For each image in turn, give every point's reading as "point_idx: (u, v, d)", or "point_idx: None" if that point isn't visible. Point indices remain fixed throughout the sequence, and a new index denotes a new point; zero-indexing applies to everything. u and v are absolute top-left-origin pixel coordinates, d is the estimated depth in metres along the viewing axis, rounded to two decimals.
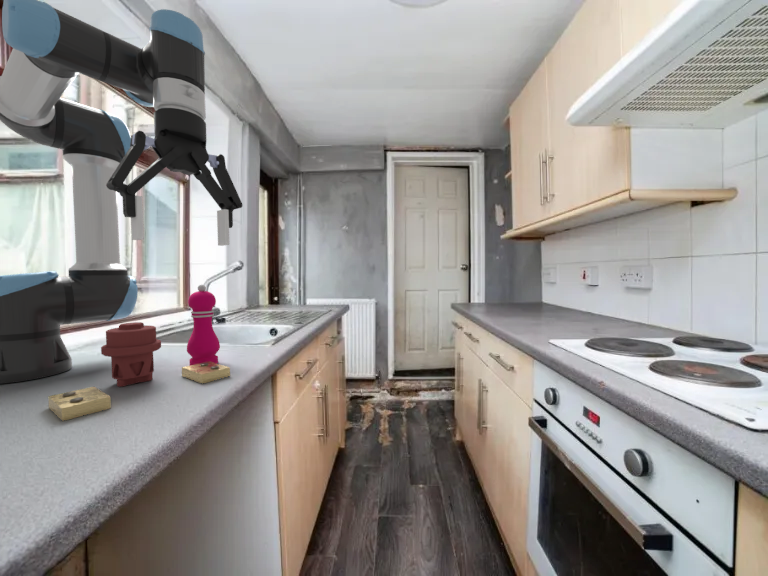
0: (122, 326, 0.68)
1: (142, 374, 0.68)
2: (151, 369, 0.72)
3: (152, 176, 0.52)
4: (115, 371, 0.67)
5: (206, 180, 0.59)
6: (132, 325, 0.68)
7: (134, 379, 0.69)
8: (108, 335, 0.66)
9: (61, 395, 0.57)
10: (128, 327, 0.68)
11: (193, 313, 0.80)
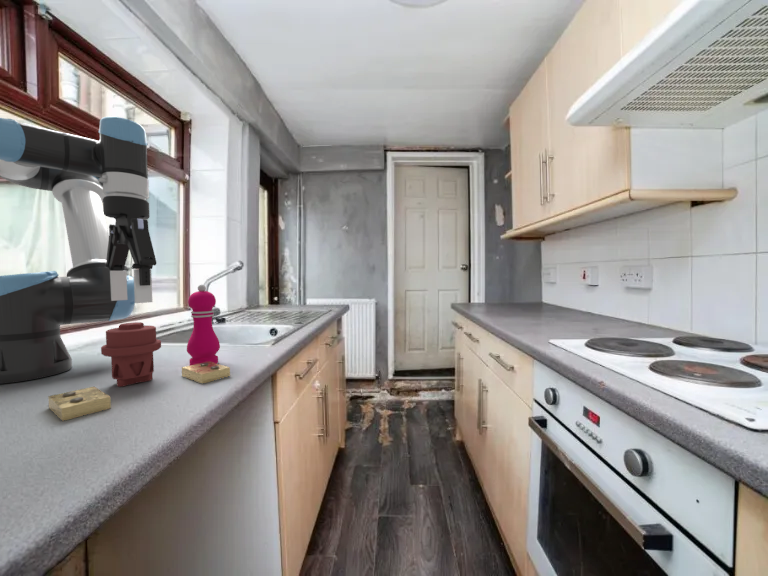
0: (122, 326, 0.68)
1: (142, 374, 0.68)
2: (151, 369, 0.72)
3: (113, 254, 0.70)
4: (115, 371, 0.67)
5: None
6: (132, 325, 0.68)
7: (134, 379, 0.69)
8: (108, 335, 0.66)
9: (61, 395, 0.57)
10: (128, 327, 0.68)
11: (193, 313, 0.80)
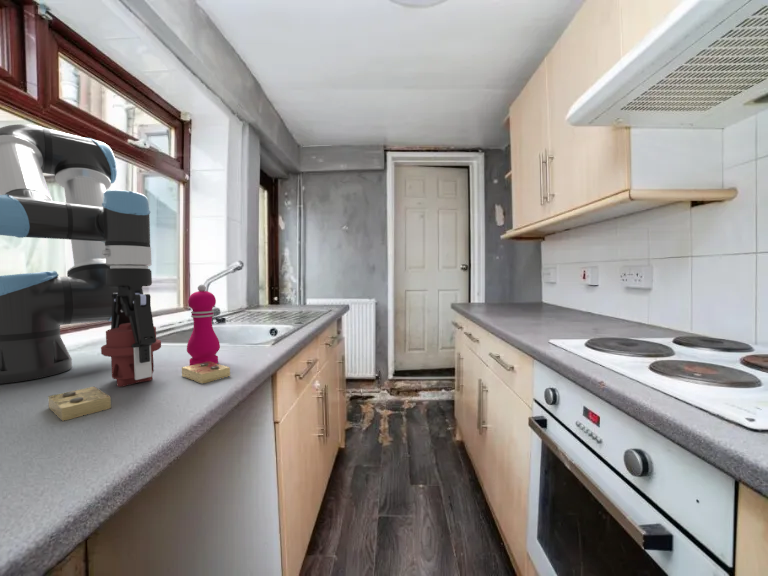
0: (122, 326, 0.68)
1: None
2: None
3: (117, 323, 0.71)
4: (115, 371, 0.67)
5: None
6: None
7: (134, 379, 0.69)
8: (108, 335, 0.66)
9: (61, 395, 0.57)
10: (128, 327, 0.68)
11: (193, 313, 0.80)
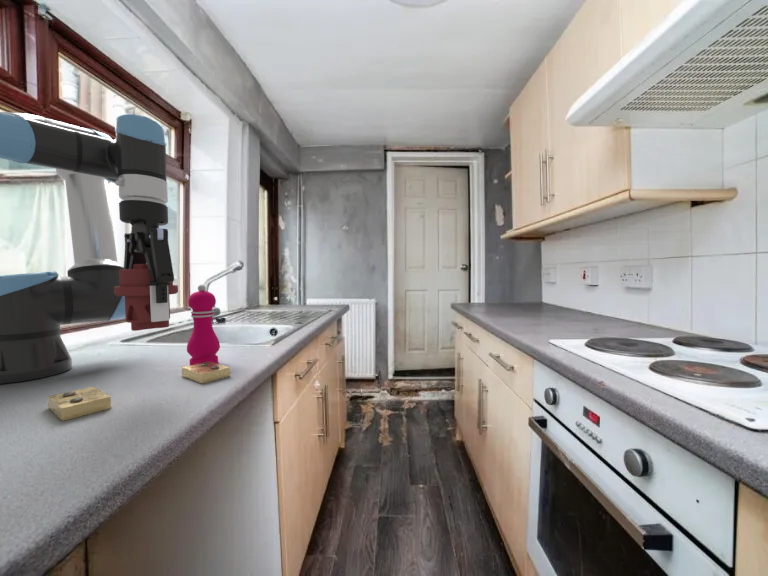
0: (137, 265, 0.62)
1: None
2: None
3: (131, 265, 0.65)
4: (129, 314, 0.61)
5: None
6: None
7: (149, 324, 0.63)
8: (121, 273, 0.60)
9: (61, 395, 0.57)
10: (143, 266, 0.62)
11: (193, 313, 0.80)
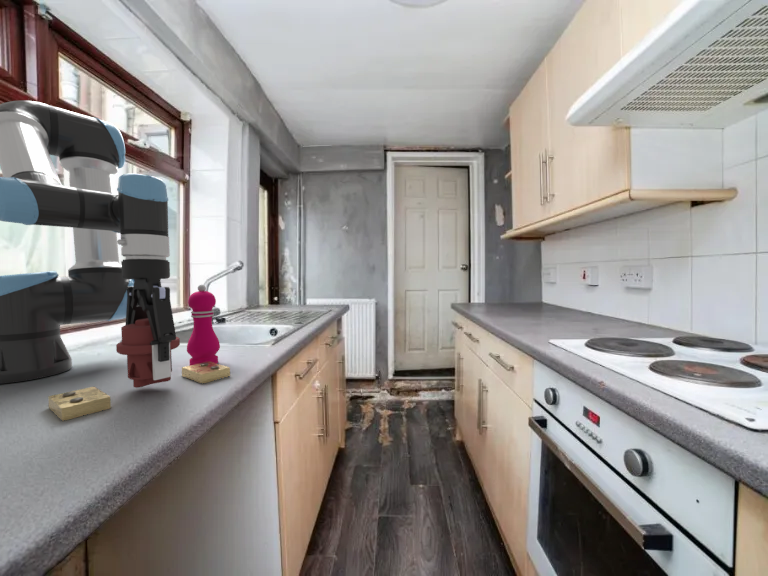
0: (139, 322, 0.62)
1: None
2: None
3: (133, 319, 0.65)
4: (131, 371, 0.62)
5: None
6: None
7: (151, 379, 0.63)
8: (124, 332, 0.60)
9: (61, 395, 0.57)
10: (146, 323, 0.62)
11: (193, 313, 0.80)
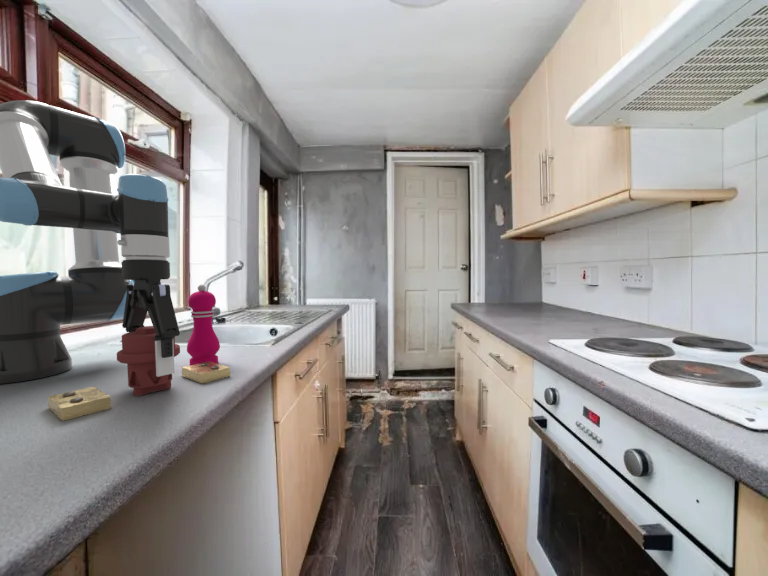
0: (139, 330, 0.62)
1: (161, 382, 0.63)
2: (169, 376, 0.66)
3: (131, 317, 0.66)
4: (132, 379, 0.62)
5: None
6: (150, 329, 0.63)
7: (152, 387, 0.63)
8: (124, 340, 0.60)
9: (61, 395, 0.57)
10: (146, 331, 0.62)
11: (193, 313, 0.80)
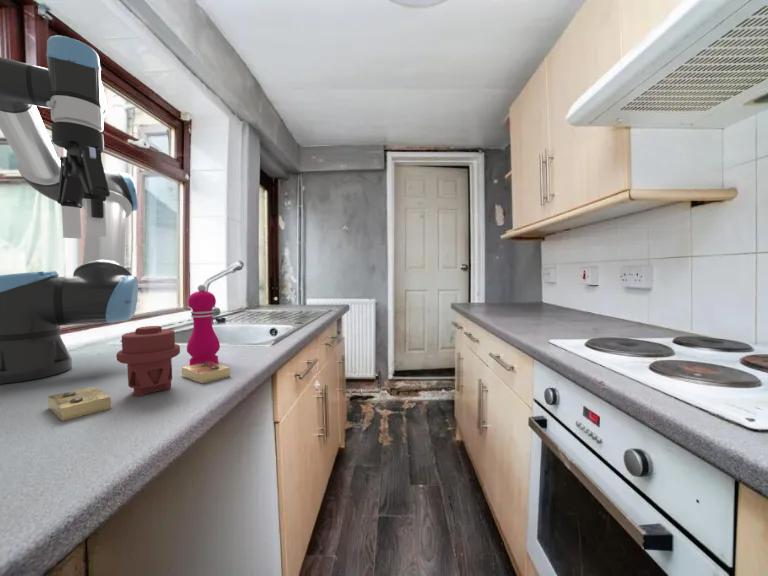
0: (139, 330, 0.62)
1: (161, 382, 0.63)
2: (169, 376, 0.66)
3: (64, 188, 0.67)
4: (132, 379, 0.62)
5: None
6: (150, 329, 0.63)
7: (152, 387, 0.63)
8: (124, 340, 0.60)
9: (61, 395, 0.57)
10: (146, 331, 0.62)
11: (193, 313, 0.80)
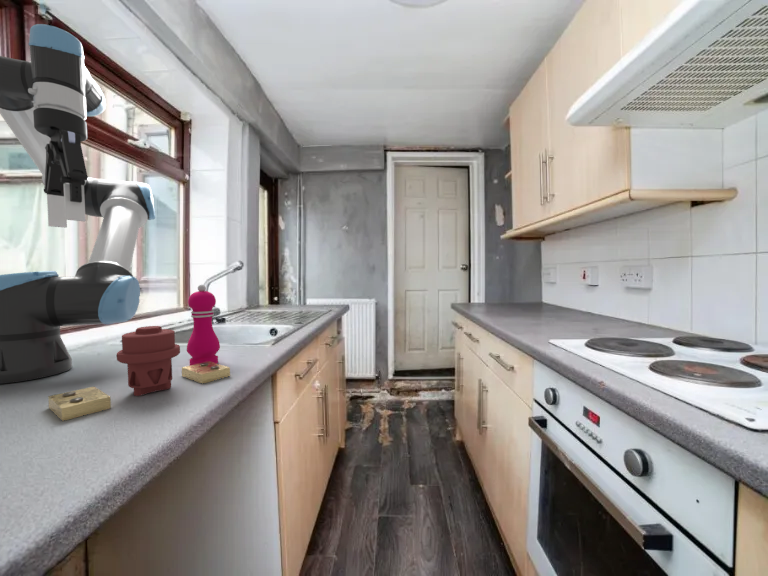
0: (139, 330, 0.62)
1: (161, 382, 0.63)
2: (169, 376, 0.66)
3: (49, 176, 0.67)
4: (132, 379, 0.62)
5: None
6: (150, 329, 0.63)
7: (152, 387, 0.63)
8: (124, 340, 0.60)
9: (61, 395, 0.57)
10: (146, 331, 0.62)
11: (193, 313, 0.80)
